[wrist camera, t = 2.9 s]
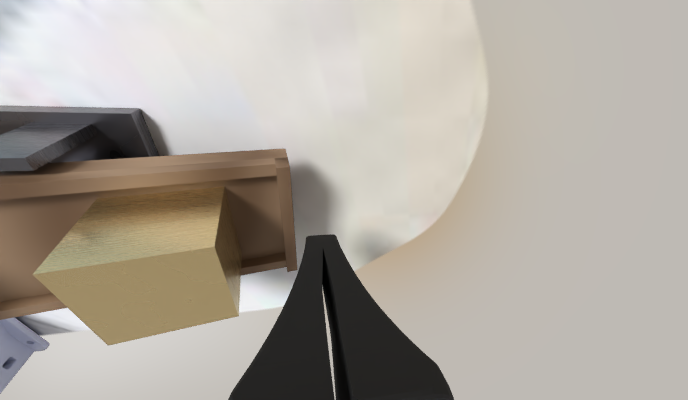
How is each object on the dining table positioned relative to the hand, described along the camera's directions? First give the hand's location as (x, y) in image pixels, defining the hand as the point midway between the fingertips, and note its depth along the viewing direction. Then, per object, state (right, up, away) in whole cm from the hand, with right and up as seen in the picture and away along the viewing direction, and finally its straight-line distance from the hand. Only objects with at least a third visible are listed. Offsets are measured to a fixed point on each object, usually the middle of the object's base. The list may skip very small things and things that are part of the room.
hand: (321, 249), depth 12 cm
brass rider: (-7, +1, +1) cm, 7 cm away
